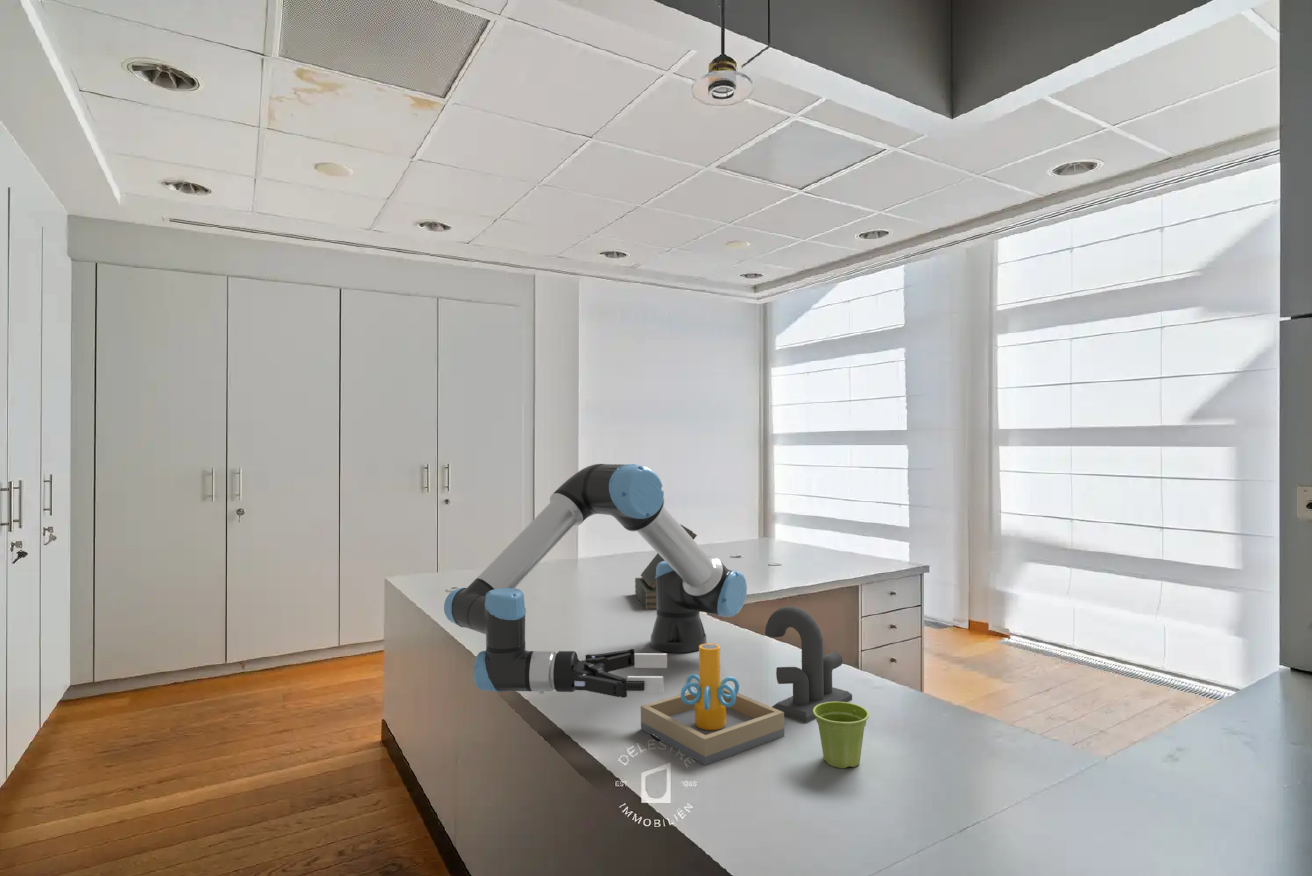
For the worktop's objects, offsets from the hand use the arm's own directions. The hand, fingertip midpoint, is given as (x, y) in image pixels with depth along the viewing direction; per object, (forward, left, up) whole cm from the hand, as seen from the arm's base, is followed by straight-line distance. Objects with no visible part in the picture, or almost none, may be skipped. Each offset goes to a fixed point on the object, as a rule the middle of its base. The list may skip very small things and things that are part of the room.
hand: (665, 671), depth 139 cm
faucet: (-32, +4, -12) cm, 34 cm away
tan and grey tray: (-7, +5, -12) cm, 14 cm away
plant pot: (-17, +28, -12) cm, 35 cm away
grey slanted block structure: (-66, -87, -12) cm, 109 cm away
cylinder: (-7, +5, -10) cm, 13 cm away
